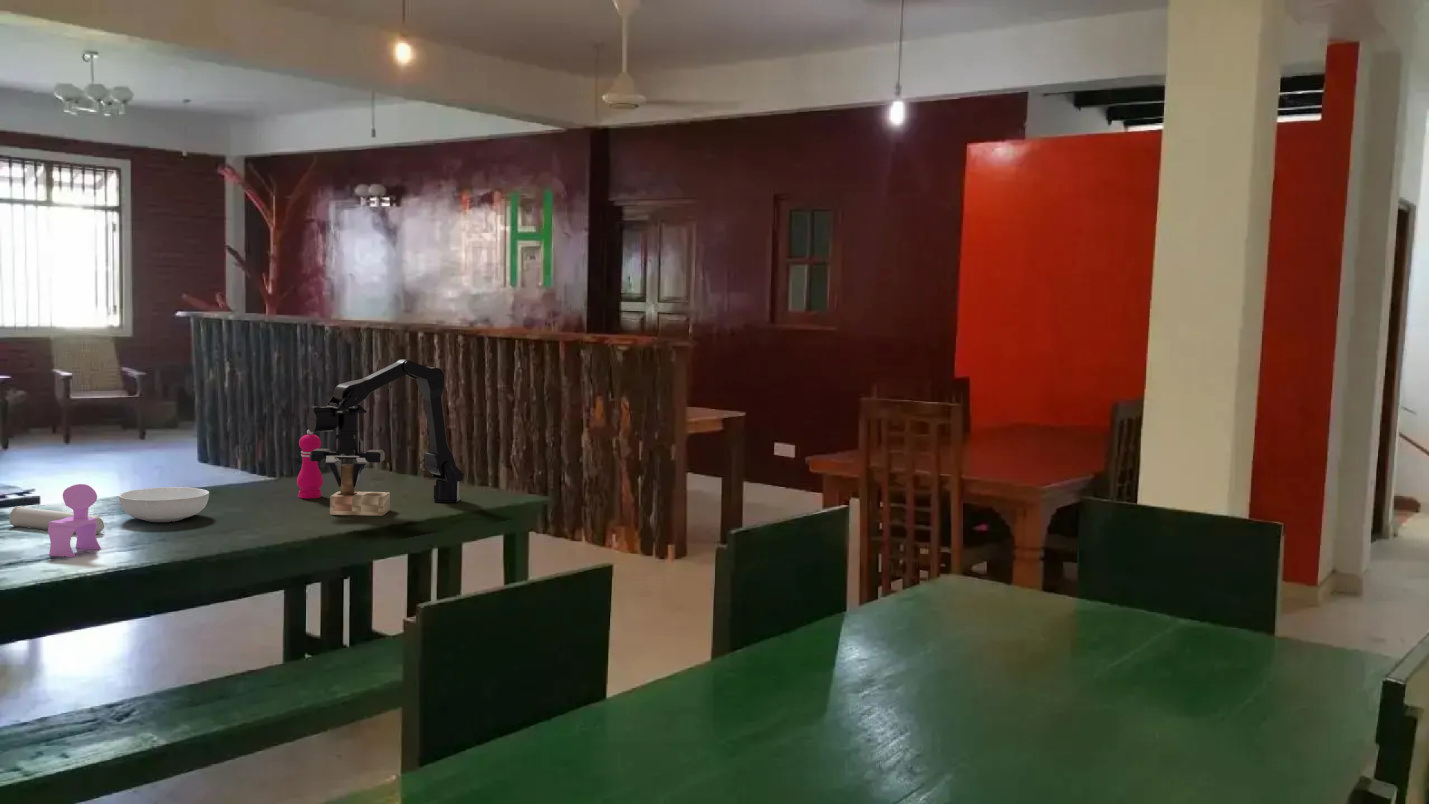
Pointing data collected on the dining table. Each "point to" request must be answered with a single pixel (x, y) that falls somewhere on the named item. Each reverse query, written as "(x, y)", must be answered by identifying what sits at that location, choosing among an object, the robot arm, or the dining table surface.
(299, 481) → the pepper mill
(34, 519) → the tube
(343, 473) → the dowel
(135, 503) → the serving bowl
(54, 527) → the toy chair
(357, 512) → the bore block
